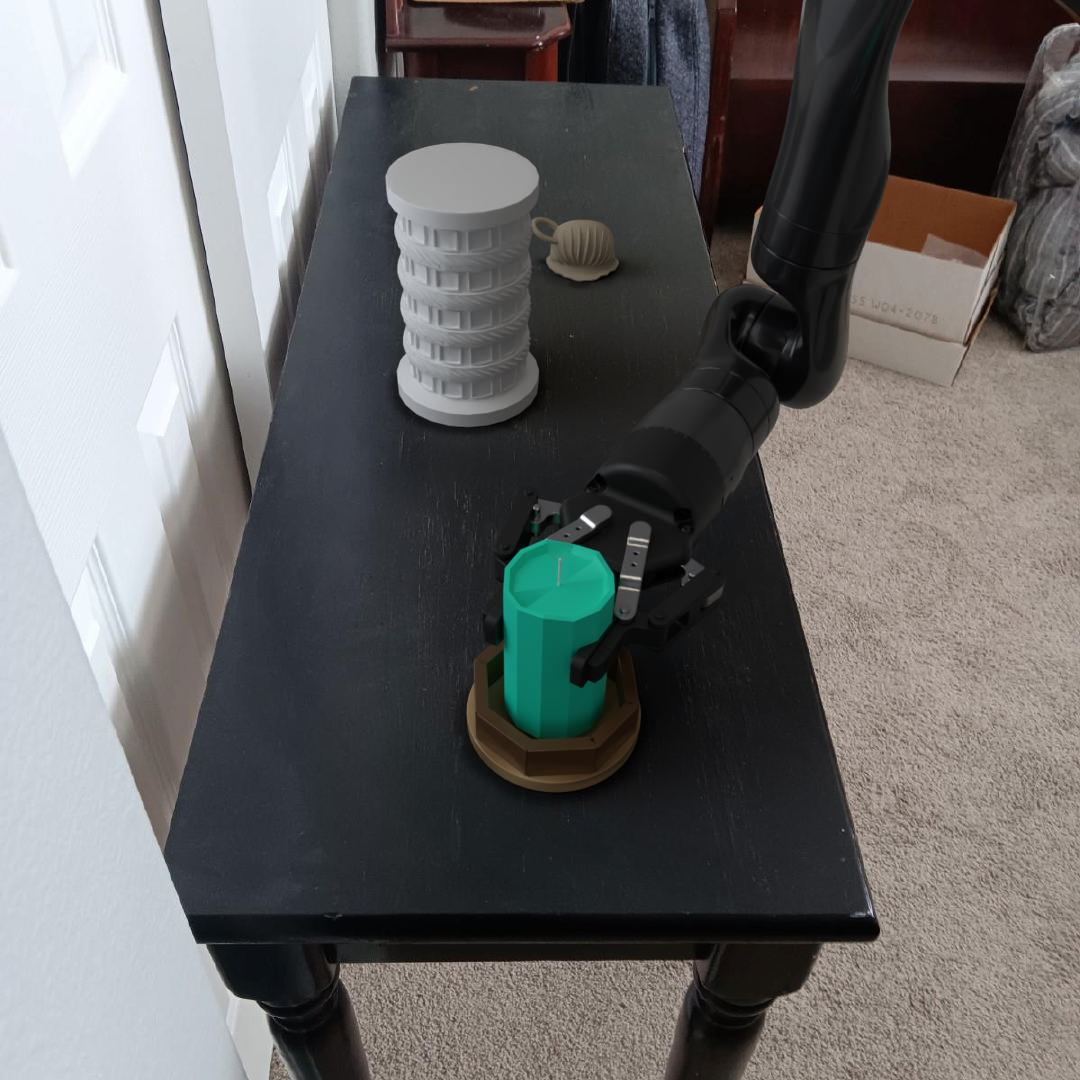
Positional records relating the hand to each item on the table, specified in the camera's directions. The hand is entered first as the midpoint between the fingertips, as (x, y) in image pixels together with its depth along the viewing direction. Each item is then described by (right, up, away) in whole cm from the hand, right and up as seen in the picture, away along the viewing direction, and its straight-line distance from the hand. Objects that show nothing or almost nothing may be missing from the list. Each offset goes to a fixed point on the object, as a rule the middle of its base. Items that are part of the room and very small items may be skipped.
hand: (533, 654), depth 57 cm
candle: (+1, -4, +7) cm, 8 cm away
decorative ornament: (+4, +32, +45) cm, 55 cm away
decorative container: (-6, +19, +32) cm, 37 cm away
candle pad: (+1, -5, +8) cm, 9 cm away
